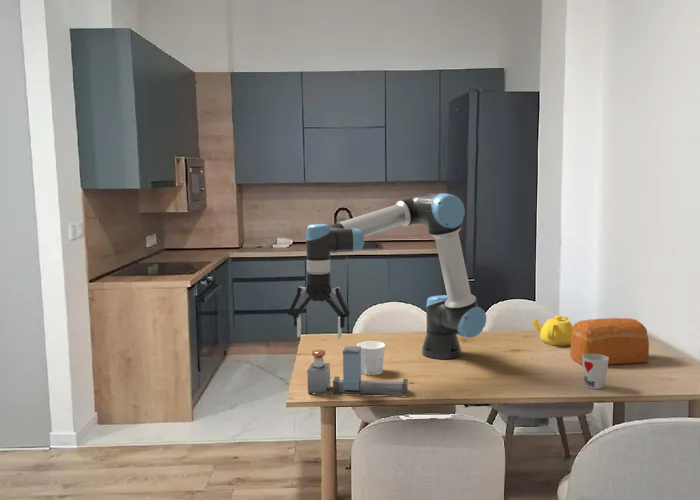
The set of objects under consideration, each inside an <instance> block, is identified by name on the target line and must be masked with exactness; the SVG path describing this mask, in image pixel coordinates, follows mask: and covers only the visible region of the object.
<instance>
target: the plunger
mask: <svg viewBox="0 0 700 500" xmlns="http://www.w3.org/2000/svg"><path fill="white" fill-rule="evenodd" d="M311 356H313V360H314V361H313V363H314V368H323V363H324V356H326V350H323V349H315V350H312V351H311Z"/></svg>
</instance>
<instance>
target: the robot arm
mask: <svg viewBox="0 0 700 500" xmlns="http://www.w3.org/2000/svg"><path fill="white" fill-rule="evenodd" d="M465 214H466V210H465V206H464V204H463V201H462V200H461V199H460V198H459V197H457V196H456V195H453V194H450V193H446V192H442V193H440V192H437V193H435V192H432V193H431V192H424V193H418V194H416V195H413V196H410V197H406V198H404V199H401V200H398V201H396V203H395V204H394V205H391V206H388V207H385V208H381V209H378V210H375V211H372V212H369V213H365V214H362V215H358V216H356V217H352V218H349V219H346V220H343V221H340V222H336V223H333V224H330V225H329V224H326V223H312V224H309V225H308V226H307V227H306V233H305V234H306V236H305V240H306V241H305V242H306V272H307V274H306V287H303V286H302V285H300V286H298V287H297V290H296V295H295V297H294V299H293V301H292V304H291V306H290V308H289V310H288V312H287V314H288V315H289V316H292V318H293V326H294V327H296V337H297V338H300V337H301V336H302V315H300V314H301V312H302V311H303V310H304V309H305V308H306V306H307V305H308V304H309V303H310V301H313V302H326V303H328V304H329V306H330V307H331V308H332V310H333V311H334V312H335V313H336V315H337V316H338V317H337V339H341V338H342V329H344V328H345V325H346V324H345V321H346V320H345V319H346V318H347V317H349V316H350V315H351V311H350V310H349V308H348V306H347V304H346V301H345V300H344V297H343V295H342V293H341V292H342V291H341V288H340V286H337V287H332V286H331V273H330V271H331V254H335V253H336V254H337V253H353V252H360V251H362V249H363V248H364V245H365V237H368V236H371V235H374V234H377V233H380V232H383V231H387V230H389V229H392V228H396V227H398V226H403V227H407V226H411V225H426V226H427V228H428V234H429V235H430V236H431V237H433V238H434V241H435V246H436V250H437V255H438V259H439V263H440V268H441V269H440V270H441V273H442V278H443V282H444V286H445V292H446V295H445V294H443V295H434V296H433V295H432V296H429V297H428V298H427V299H426V306H425V307H426V336H425V337H424V341H423V344H422V350H421V354H422V355H423V356H424V357H426V358H431V359H435V360H436V359H437V360H450V359H456V358H459V357H460V356H461V355H462V347H461V344H460V342H459V341H460V340H459V338H458V335H459V336H461V337H465V338H475V337H477V336H479V335H480V333H482V332H483V330H484V328H485V327H486V324H487V313H486V311H484V309H483V308H482V307H481V306H480V307H479V306H478V301H477V297H476V296H475V295H473V294H472V293H471V287H470V283H469V282H470V281H469V276H468V273H467V267H466V264H465V259H464V254H463V249H462V243H461V239H460V235H459V232H460V231H461V229H462V223H463V221H464V218H465ZM305 292H306V295H308V297H307V298H306V299H305V300H304V301H303V302H302V304H301V305H300V307H298V308H297V310H296V307H297V305H298V304H299V301H300V299H301V298H302V295H303V294H304V293H305ZM331 293H333V295H335V296H336V299H337V300H338V303H339V305H340V306H341V308H340V307H339V306H338V305H337V303H336V302H335V300H333V298H332V296H331ZM295 310H296V311H295Z"/></svg>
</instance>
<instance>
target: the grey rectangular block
mask: <svg viewBox="0 0 700 500" xmlns="http://www.w3.org/2000/svg"><path fill="white" fill-rule="evenodd" d="M342 370H343V371H342V373H343V374H342V375H343V376H342V377H343V378H342V380H343V383H344V390H359V382H360V381H362V373H361V346H357V345H356V346H354V345H352V346H350V345H345V346H344V348H343V350H342Z"/></svg>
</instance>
